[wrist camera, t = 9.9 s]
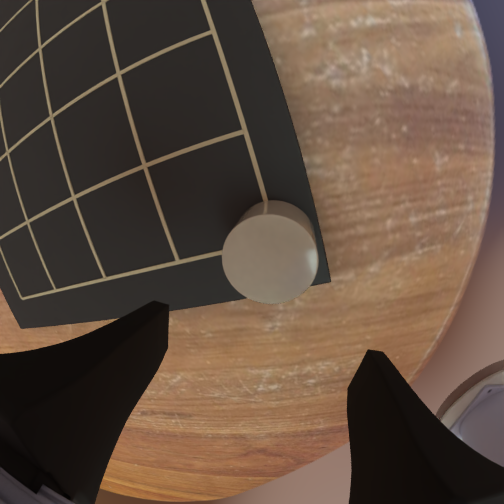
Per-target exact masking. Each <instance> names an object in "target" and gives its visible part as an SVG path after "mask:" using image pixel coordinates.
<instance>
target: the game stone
mask: <svg viewBox="0 0 504 504" xmlns="http://www.w3.org/2000/svg"><path fill="white" fill-rule="evenodd" d="M318 263H319V258H318V249H317V242H316V235H315V230H314V227H313V225H312V223H311V221H310V219H309V218H308V217H307V215H306V214H305V213H304V212H303V211H302V210H300V209H299V208H298V207H296V206H294V205H292V204H290V203H287V202H284V201H277V200H271V201H264V202H261V203H258V204H256V205H254V206H252V207H251V208H249V209H248V210H247V211H246V212H245V213H244V214H243V215H242V216H241V218H240V219H239V220H238V222H237V223H236V225H235V226H234V227H233V229H232V230H231V232H230V233H229V235H228V236H227V238H226V240H225V243H224V245H223V250H222V265H223V269H224V272H225V275H226V277H227V279H228V280H229V282H230V283H231V285H232V286H233V287H234V288H235V289H236V290H237V291H238V292H239V293H241V294H242V295H243V296H245V297H247V298H249V299H251V300H253V301H256V302H259V303H265V304H279V303H285V302H288V301H291V300H293V299H295V298H297V297H298V296H300V295H301V294H302V293H304V292H305V291H306V290H307V289H308V288H309V287H310V285H311V284H312V282H313V281H314V279H315V276H316V274H317V270H318Z"/></svg>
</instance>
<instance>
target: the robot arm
mask: <svg viewBox="0 0 504 504" xmlns="http://www.w3.org/2000/svg"><path fill="white" fill-rule="evenodd" d="M168 327H169V305H168V304H165V303H162V302H158V301H155V300H154V301H151V302H149V303H148V304H146V305H144V306H142V307H140V308H138V309H136V310H135V311H133V312H131V313H129V314H127V315H125V316H123V317H121V318H119V319H117V320H116V321H114V322H112V323H110V324H107V325H105V326H103V327H101V328H99V329H96V330H94V331H92V332H90V333H88V334H85V335H83V336H80V337H77V338H75V339H72V340H69V341H66V342H63V343H59V344H55V345H51V346H47V347H43V348H39V349H35V350H29V351H23V352H16V353H7V354H0V504H95V501H96V497H97V494H98V491H99V488H100V485H101V482H102V479H103V476H104V473H105V470H106V468H107V465H108V462H109V460H110V457H111V455H112V452H113V450H114V448H115V445H116V443H117V441H118V438H119V436H120V434H121V432H122V430H123V427H124V425H125V423H126V421H127V419H128V417H129V416H130V414H131V412H132V410H133V409H134V407H135V406H136V404H137V402H138V401H139V399H140V398H141V396H142V394H143V393H144V391H145V390H146V388H147V387H148V385H149V383H150V382H151V380H152V379H153V377H154V375H155V374H156V372H157V370H158V369H159V366H160V364H161V362H162V360H163V358H164V355H165V353H166V351H167V349H168ZM347 418H348V429H349V439H350V449H351V466H352V468H351V469H352V472H351V487H350V498H349V504H504V385H485V386H484V387H483V388H482V389H481V390H480V392H479V393H478V394H477V396H476V397H475V398H474V400H473V401H472V402H471V404H470V405H469V406H468V407H467V409H466V410H465V411H464V412H463V413H462V415H461V416H460V417H459V418H458V419H457V421H456V422H455V423H454V424H453V425H452V426H451V428H450V429H448V428H447V427H446V426H445V425H444V424H443V423H442V422H441V421H440V420H439V419H438V418H437V417H436V416H435V415H434V414H432V412H431V411H430V410H429V409H428V408H427V406H426V405H425V404H424V403H423V402H422V401H421V399H420V398H419V397H418V396H417V394H416V393H415V392H414V391H413V390H412V389H411V387H410V386H409V384H408V383H407V382H406V381H405V379H404V378H403V377H402V375H401V374H400V373H399V371H398V370H397V369H396V367H395V366H394V365H393V363H392V362H391V361H390V360H389V358H388V357H387V356H386V355H385V354H384V353H383V352H381V351H375V350H369V349H368V350H367V352H366V354H365V356H364V358H363V360H362V362H361V364H360V366H359V368H358V370H357V372H356V374H355V375H354V377H353V379H352V381H351V383H350V385H349V387H348V393H347ZM461 439H462V440H461Z"/></svg>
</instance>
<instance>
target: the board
mask: <svg viewBox="0 0 504 504" xmlns="http://www.w3.org/2000/svg"><path fill="white" fill-rule="evenodd" d="M271 200H277V201H284V202H287V203H290V204H292V205H294V206H296V207H298V208H299V209H300V210H302V211H303V212H304V213H305V214H306V215H307V217H308V218H309V219H310V221H311V223H312V225H313V227H314V230H315V235H316V242H317V249H318V258H319V263H318V270H317V274H316V276H315V279H314V281H313V282H312V284H311V285H310V286H314V285H319V284H324V283H329V282H331V278H330V273H329V268H328V263H327V258H326V253H325V249H324V244H323V240H322V235H321V231H320V226H319V222H318V218H317V213H316V209H315V205H314V201H313V197H312V193H311V189H310V185H309V181H308V177H307V173H306V169H305V166H304V162H303V158H302V154H301V151H300V147H299V144H298V140H297V136H296V133H295V129H294V126H293V123H292V119H291V116H290V113H289V109H288V106H287V103H286V99H285V96H284V93H283V90H282V87H281V84H280V81H279V77H278V74H277V71H276V68H275V65H274V62H273V59H272V57H271V54H270V51H269V48H268V45H267V42H266V39H265V37H264V34H263V31H262V28H261V26H260V23H259V20H258V18H257V15H256V12H255V10H254V7H253V5H252V2H251V0H0V288H1V290H2V292H3V295H4V297H5V299H6V301H7V303H8V305H9V307H10V309H11V311H12V313H13V315H14V317H15V319H16V320H17V322H18V324H19V326H20V328H21V329H25V328H36V327H46V326H56V325H66V324H75V323H84V322H92V321H101V320H109V319H116V318H121V317H123V316H125V315H127V314H129V313H131V312H133V311H135V310H136V309H138V308H140V307H142V306H144V305H146V304H148V303H149V302H151V301H154V300H155V301H158V302H162V303H165V304H168V305H169V311H173V310H180V309H186V308H193V307H199V306H205V305H211V304H217V303H223V302H229V301H235V300H240V299H246V298H247V297H245V296H243V295H242V294H241V293H239V292H238V291H237V290H236V289H235V288H234V287H233V286H232V285H231V283H230V282H229V280H228V279H227V277H226V275H225V272H224V269H223V265H222V250H223V245H224V243H225V240H226V238H227V236H228V235H229V233H230V232H231V230H232V229H233V227H234V226H235V225H236V223H237V222H238V220H239V219H240V218H241V216H242V215H243V214H244V213H245V212H246V211H247V210H248V209H249V208H251V207H252V206H254V205H256V204H258V203H261V202H264V201H271Z"/></svg>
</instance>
